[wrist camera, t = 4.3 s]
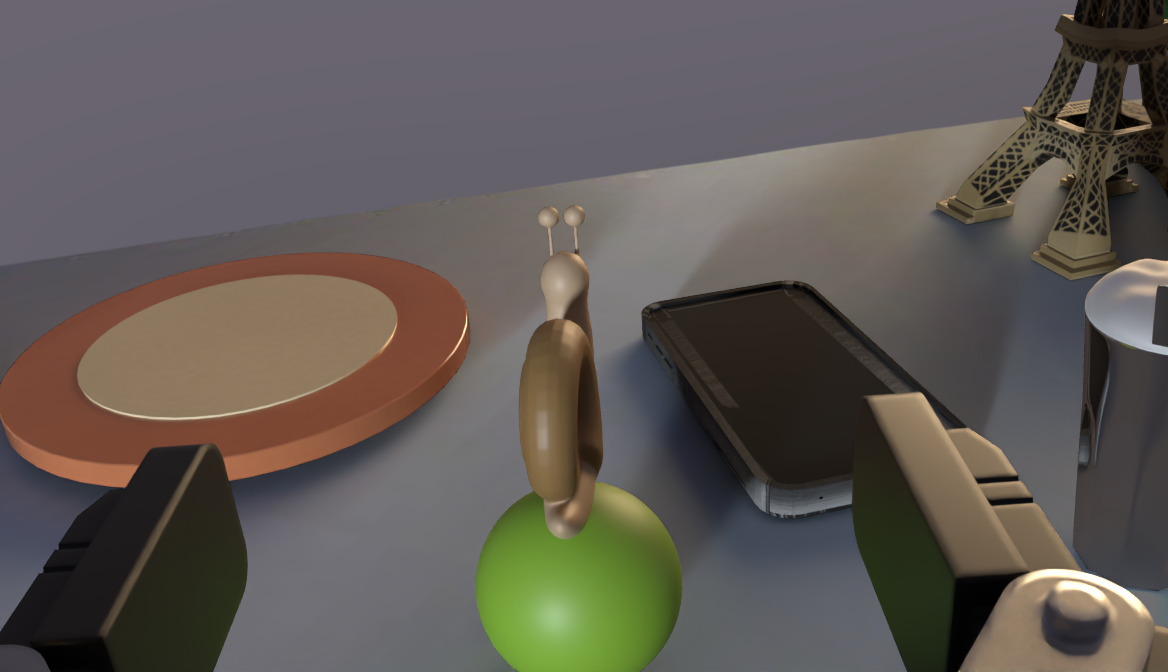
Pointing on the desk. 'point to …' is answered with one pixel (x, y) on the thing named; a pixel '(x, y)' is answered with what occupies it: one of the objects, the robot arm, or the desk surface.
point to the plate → (236, 365)
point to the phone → (777, 387)
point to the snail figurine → (573, 513)
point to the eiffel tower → (1085, 134)
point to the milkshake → (1125, 429)
